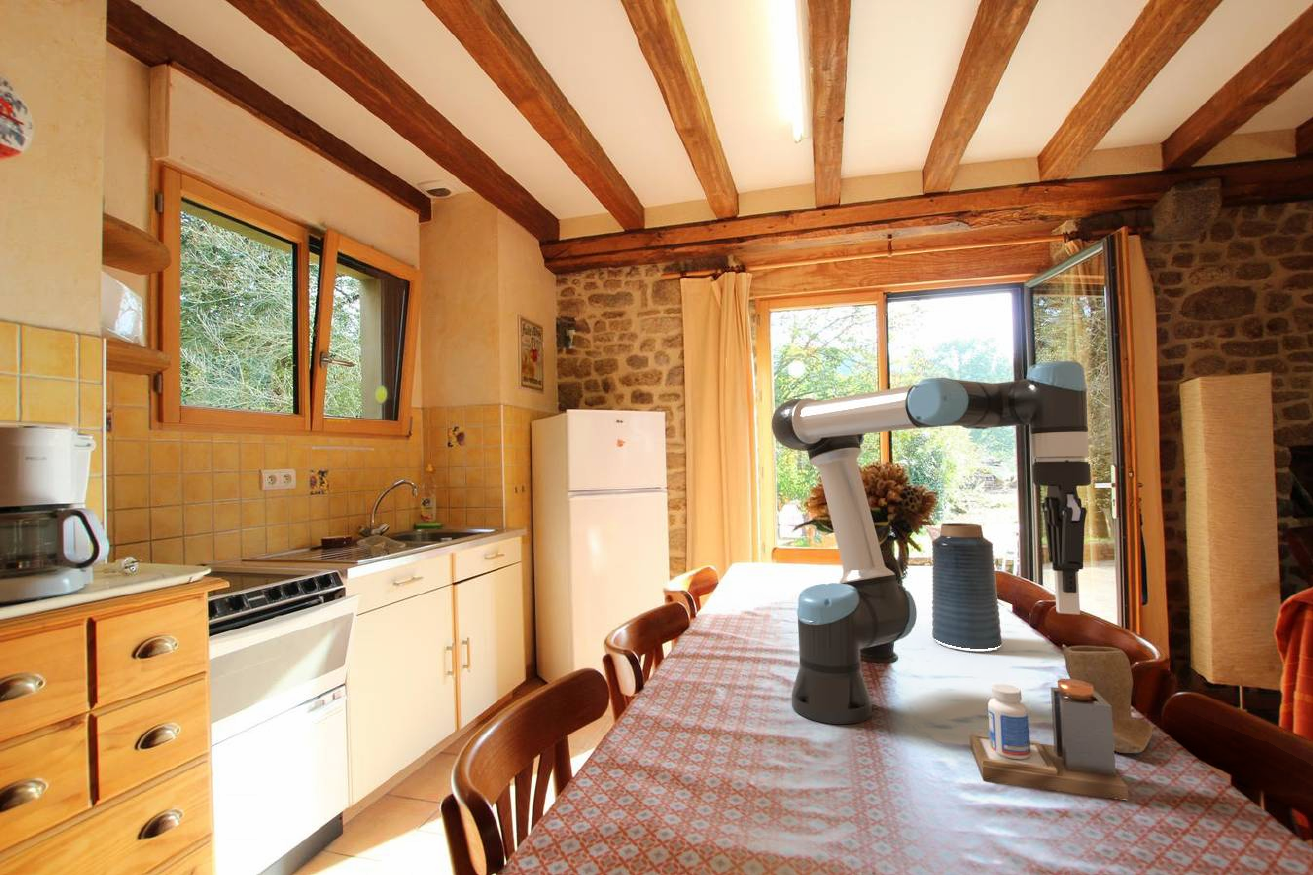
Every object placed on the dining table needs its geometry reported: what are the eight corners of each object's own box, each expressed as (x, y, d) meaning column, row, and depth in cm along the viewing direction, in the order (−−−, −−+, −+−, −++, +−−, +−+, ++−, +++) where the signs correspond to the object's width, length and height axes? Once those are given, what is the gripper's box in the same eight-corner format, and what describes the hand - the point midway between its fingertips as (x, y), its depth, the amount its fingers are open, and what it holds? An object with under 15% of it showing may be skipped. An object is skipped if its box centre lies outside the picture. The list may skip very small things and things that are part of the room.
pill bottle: (1038, 755, 90) (1034, 690, 90) (1017, 763, 87) (1014, 697, 88) (1003, 740, 95) (1000, 679, 95) (982, 748, 92) (979, 686, 93)
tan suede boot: (1077, 713, 110) (1072, 633, 111) (1159, 733, 101) (1153, 646, 102) (1054, 739, 100) (1049, 650, 101) (1143, 764, 91) (1137, 667, 92)
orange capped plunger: (1067, 766, 86) (1063, 687, 87) (1058, 753, 91) (1053, 677, 91) (1102, 771, 85) (1098, 690, 86) (1091, 757, 89) (1087, 680, 90)
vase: (1015, 653, 146) (1009, 527, 148) (950, 653, 146) (945, 528, 148) (980, 634, 162) (975, 521, 164) (922, 635, 162) (917, 522, 164)
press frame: (1066, 770, 86) (1063, 701, 86) (1054, 751, 91) (1050, 687, 92) (1115, 776, 84) (1111, 706, 84) (1099, 757, 89) (1095, 691, 90)
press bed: (983, 780, 87) (982, 762, 87) (970, 747, 97) (969, 731, 98) (1128, 801, 81) (1127, 782, 81) (1098, 763, 91) (1097, 746, 92)
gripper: (1105, 459, 83) (1114, 625, 82) (1074, 460, 96) (1082, 604, 94) (1044, 460, 86) (1052, 621, 85) (1022, 461, 98) (1028, 601, 97)
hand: (1068, 612), depth 90 cm, fingers closed
